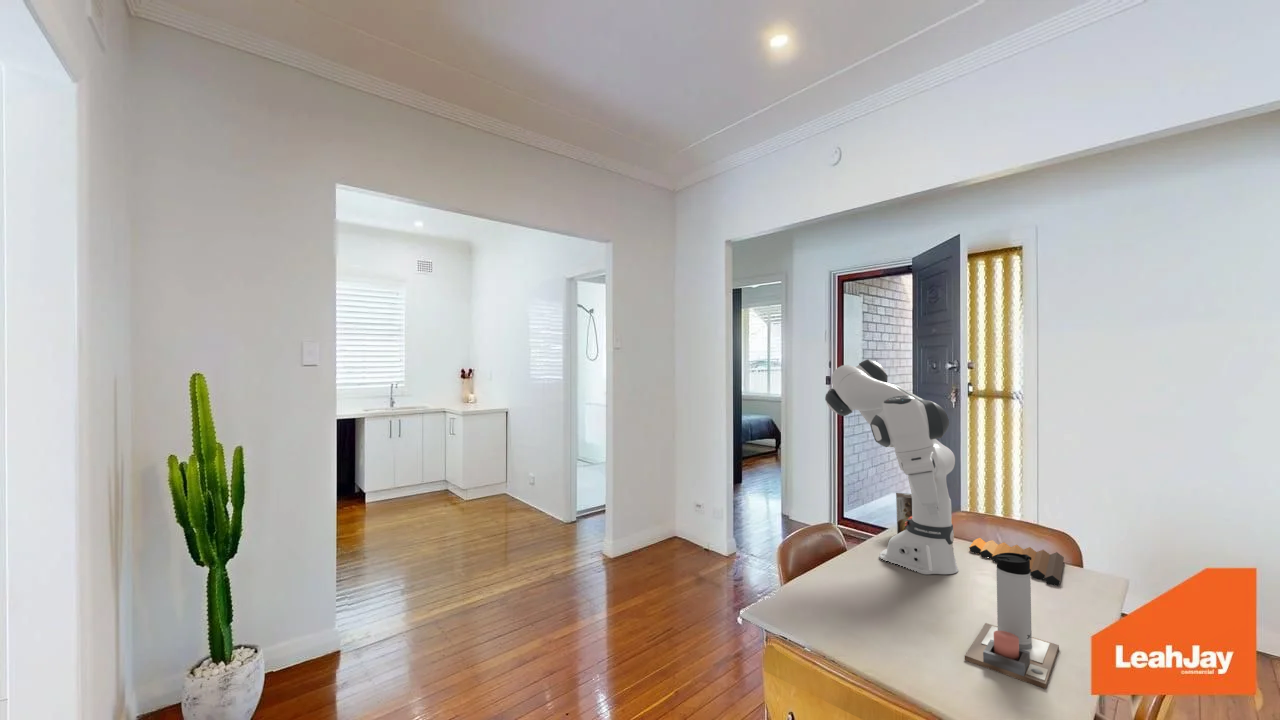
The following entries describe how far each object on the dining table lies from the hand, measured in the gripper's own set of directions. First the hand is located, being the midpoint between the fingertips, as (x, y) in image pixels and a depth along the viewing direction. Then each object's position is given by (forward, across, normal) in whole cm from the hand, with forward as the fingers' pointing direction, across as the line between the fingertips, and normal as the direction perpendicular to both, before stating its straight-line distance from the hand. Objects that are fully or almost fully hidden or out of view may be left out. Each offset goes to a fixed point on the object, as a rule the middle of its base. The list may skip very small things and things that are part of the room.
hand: (936, 516), depth 122 cm
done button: (+28, +9, +5) cm, 30 cm away
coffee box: (+25, -74, -14) cm, 79 cm away
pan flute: (+33, -62, +14) cm, 72 cm away
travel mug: (+30, -1, +8) cm, 31 cm away
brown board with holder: (+31, +2, +6) cm, 32 cm away
